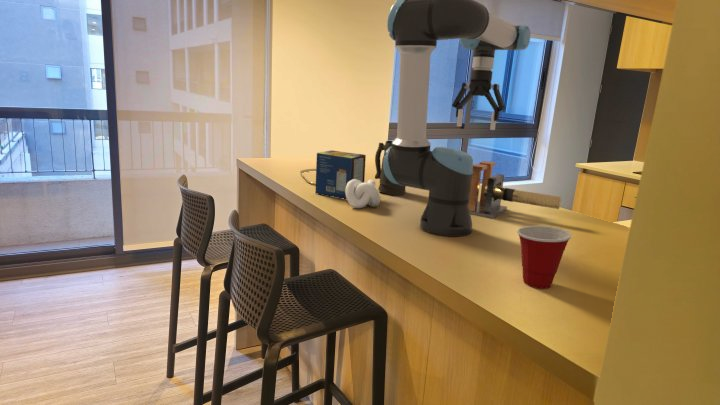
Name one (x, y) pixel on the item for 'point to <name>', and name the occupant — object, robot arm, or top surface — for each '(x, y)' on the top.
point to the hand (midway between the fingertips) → (475, 128)
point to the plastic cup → (541, 253)
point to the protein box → (338, 172)
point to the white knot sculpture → (362, 193)
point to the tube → (526, 197)
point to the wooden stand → (489, 203)
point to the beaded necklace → (307, 171)
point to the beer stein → (385, 184)
